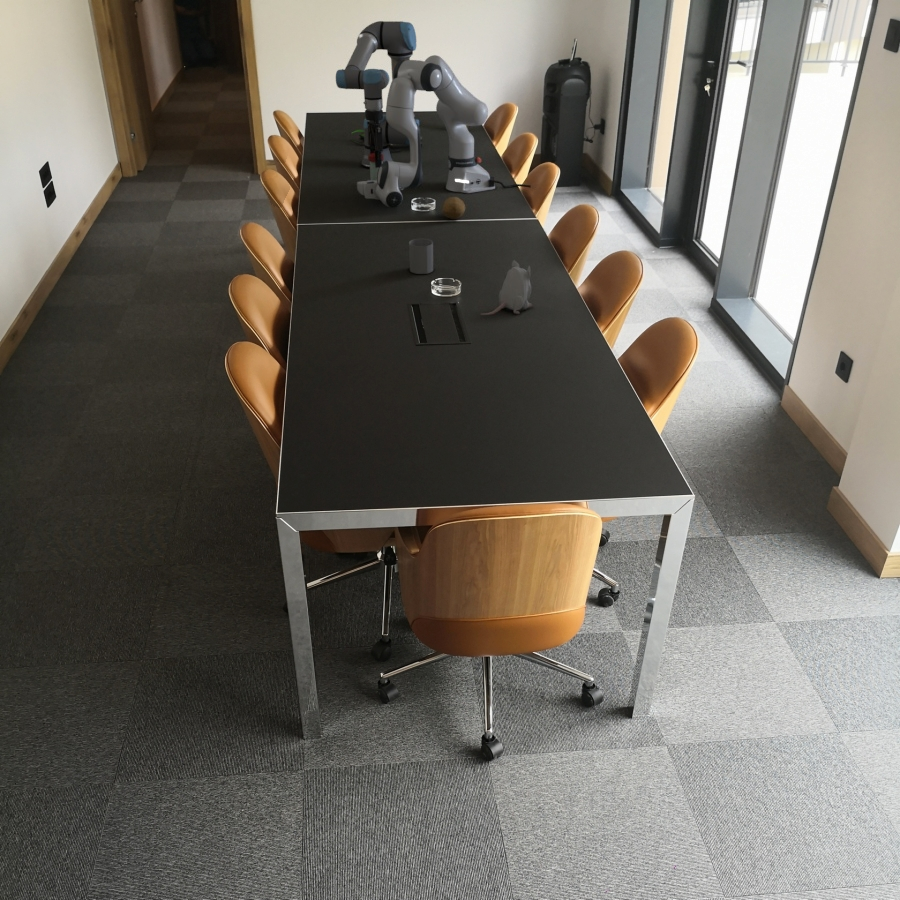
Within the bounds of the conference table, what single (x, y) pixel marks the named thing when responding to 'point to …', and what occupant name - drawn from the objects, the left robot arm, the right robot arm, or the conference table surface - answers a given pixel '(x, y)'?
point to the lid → (373, 157)
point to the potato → (453, 208)
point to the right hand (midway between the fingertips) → (376, 180)
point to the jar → (373, 171)
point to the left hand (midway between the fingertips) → (376, 165)
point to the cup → (421, 256)
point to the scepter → (359, 138)
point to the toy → (515, 290)
